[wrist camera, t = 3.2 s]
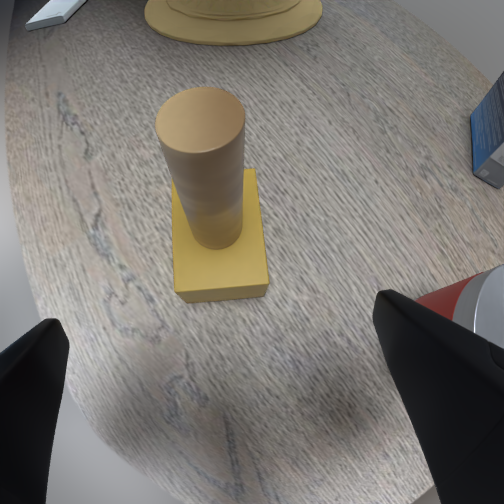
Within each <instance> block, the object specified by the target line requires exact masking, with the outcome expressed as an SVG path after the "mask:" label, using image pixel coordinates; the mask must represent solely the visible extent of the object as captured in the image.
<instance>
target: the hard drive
mask: <svg viewBox="0 0 504 504" xmlns="http://www.w3.org/2000/svg"><path fill="white" fill-rule="evenodd" d="M85 1H87V0H51V1H49V2H48V3H47V4H46V5H45V6H44V7H43V8H42V9H41V10H40V11H39V12H38V13H37V14H36V15H35V16H34V17H33V18H31V19H30V21H29V22H28V23H27V24H26V25H25V26H26V28H27V30H34V29H38V28H43V27H47V26H52V25H57V24H62V23H64V22H66V20H67V19H68V18H69V17H70V16H71V15H72V14H73V13H74V12H75V11H76V10H77V9H78V8H79V7H80V6H81V5H82V4H83V3H84V2H85Z"/></svg>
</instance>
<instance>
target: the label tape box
mask: <svg viewBox="0 0 504 504" xmlns="http://www.w3.org/2000/svg"><path fill="white" fill-rule="evenodd" d="M471 128H472V143H473V172H474V175H476V176H478V177H479V178H481V179H483V180H484V181H486V182H487V183H489V184H491V185H493V186H495V187H496V188H498V189H500V188H501V187H502V186H503V185H504V72H503V73H502V74H501V76H500V77H499V78H498V80H497V81H496V83H495V84H494V85H493V87H492V88H491V89H490V91H489V92H488V93H487V95H486V96H485V97H484V99H483V100H482V101H481V103H480V104H479V105H478V107H477V108H476V109H475V111H474V112H473V113H472V114H471Z"/></svg>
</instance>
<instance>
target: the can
mask: <svg viewBox="0 0 504 504" xmlns="http://www.w3.org/2000/svg"><path fill="white" fill-rule="evenodd" d="M414 301H415V302H417V303H419V304H421V305H423V306H425V307H427V308H429V309H431V310H433V311H435V312H436V313H438V314H440V315H442V316H444V317H446V318H448V319H450V320H452V321H453V322H455V323H457V324H459V325H461V326H463V327H465V328H466V329H468V330H470V331H472V332H474V333H476V334H478V335H479V336H481V337H483V338H485V339H487V340H488V342H489V341H490V342H492V343H494V344H496V345H498V346H499V347H501V348H503V349H504V264H502V265H499V266H497V267H495V268H493V269H490V270H488V271H486V272H481V273H479V274H476V275H474V276H471V277H469V278H467V279H464V280H462V281H459V282H457V283H454V284H452V285H449V286H447V287H444V288H442V289H439V290H437V291H434V292H431V293H429V294H426V295H424V296H422V297H420V298H417V299H415V300H414Z"/></svg>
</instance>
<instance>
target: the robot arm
mask: <svg viewBox="0 0 504 504" xmlns="http://www.w3.org/2000/svg"><path fill="white" fill-rule="evenodd" d="M373 323H374V326H375V329H376V332H377V335H378V338H379V341H380V344H381V347H382V351H383V354H384V357H385V360H386V363H387V366H388V368H389V371H390V373H391V375H392V378H393V380H394V382H395V384H396V387H397V389H398V391H399V394H400V396H401V398H402V401H403V403H404V406H405V408H406V410H407V413H408V415H409V418H410V420H411V423H412V425H413V428H414V430H415V433H416V435H417V438H418V440H419V443H420V446H421V448H422V451H423V453H424V456H425V459H426V461H427V464H428V467H429V470H430V472H431V475H432V478H433V481H434V484H435V487H437V488H436V489H437V493H438V496H439V499H440V502H441V504H504V349H503V348H501V347H499V346H498V345H496V344H494V343H492V342H490V341H489V342H488V340H487V339H485V338H483V337H481V336H479V335H478V334H476V333H474V332H472V331H470V330H468V329H466V328H465V327H463V326H461V325H459V324H457V323H455V322H453V321H452V320H450V319H448V318H446V317H444V316H442V315H440V314H438V313H436V312H435V311H433V310H431V309H429V308H427V307H425V306H423V305H421V304H419V303H417V302H415V301H414V300H412V299H410V298H408V297H406V296H404V295H402V294H400V293H398V292H396V291H394V290H392V289H388V290H382V291H379V292H378V293H377V296H376V300H375V305H374V310H373ZM68 354H69V340H68V338H67V336H66V334H65V331H64V329H63V327H62V325H61V323H60V321H59V320H58V319H56V318H49V319H44V320H43V321H42V322H40V323H39V324H38V325H36V326H35V327H34V328H32V329H31V330H30V331H29V332H27V333H26V334H24V335H23V336H22V337H20V338H19V339H18V340H16V341H15V342H14V343H12V344H11V345H10V346H9V347H7V348H6V349H5V350H3V351H2V352H1V353H0V504H46V493H47V483H48V475H49V467H50V460H51V453H52V446H53V440H54V435H55V429H56V423H57V418H58V413H59V408H60V404H61V399H62V394H63V388H64V381H65V374H66V367H67V360H68Z"/></svg>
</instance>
